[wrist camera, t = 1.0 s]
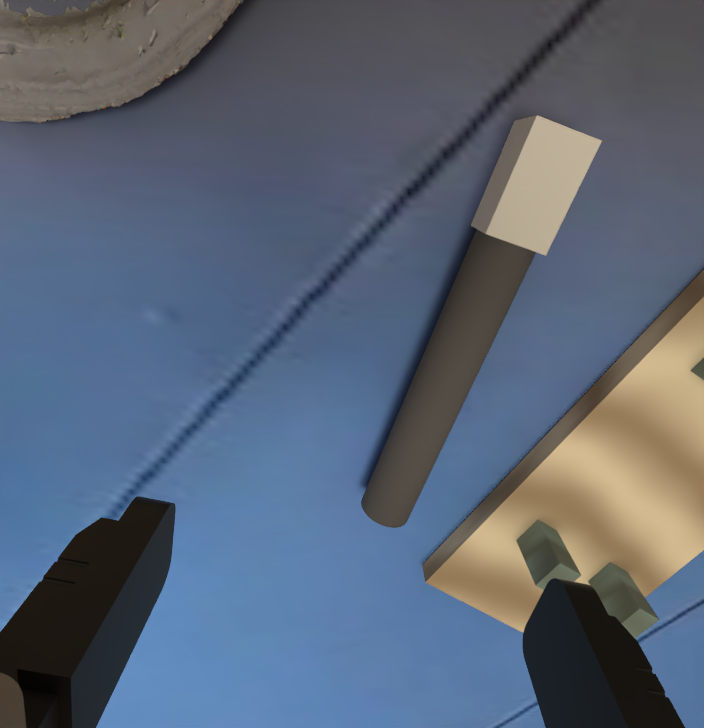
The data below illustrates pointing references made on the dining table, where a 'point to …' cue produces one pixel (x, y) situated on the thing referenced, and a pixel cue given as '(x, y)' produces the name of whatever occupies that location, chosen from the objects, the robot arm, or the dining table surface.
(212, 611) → the dining table surface
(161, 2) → the food plate
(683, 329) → the board
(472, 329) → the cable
